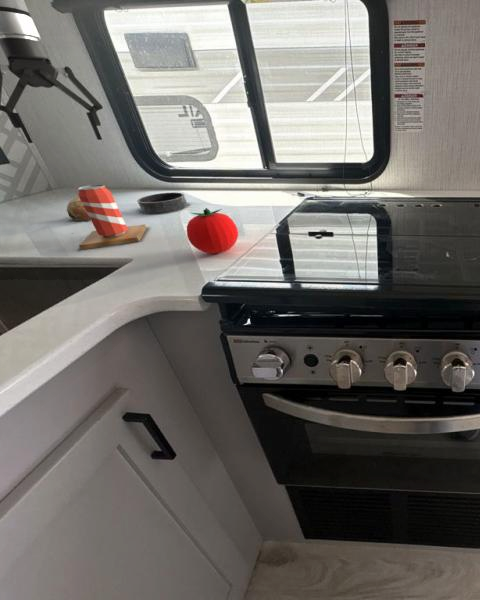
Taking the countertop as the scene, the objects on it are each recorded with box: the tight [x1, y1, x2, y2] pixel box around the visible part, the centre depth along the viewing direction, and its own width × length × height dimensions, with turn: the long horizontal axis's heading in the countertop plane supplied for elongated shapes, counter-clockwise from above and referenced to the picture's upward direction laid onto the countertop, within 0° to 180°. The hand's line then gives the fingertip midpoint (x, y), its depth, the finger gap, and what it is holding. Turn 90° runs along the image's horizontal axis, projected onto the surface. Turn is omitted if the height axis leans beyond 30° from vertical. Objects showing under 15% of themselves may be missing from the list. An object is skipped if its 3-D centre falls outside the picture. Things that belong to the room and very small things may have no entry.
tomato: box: [186, 207, 239, 255], centre depth 76 cm, size 10×10×10 cm
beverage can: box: [77, 184, 128, 237], centre depth 83 cm, size 6×6×12 cm
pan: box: [136, 191, 188, 215], centre depth 110 cm, size 13×13×4 cm
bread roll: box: [66, 196, 91, 222], centre depth 102 cm, size 10×10×8 cm
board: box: [78, 224, 147, 250], centre depth 87 cm, size 12×11×1 cm
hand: (67, 141), depth 86 cm, fingers open, 13 cm apart
